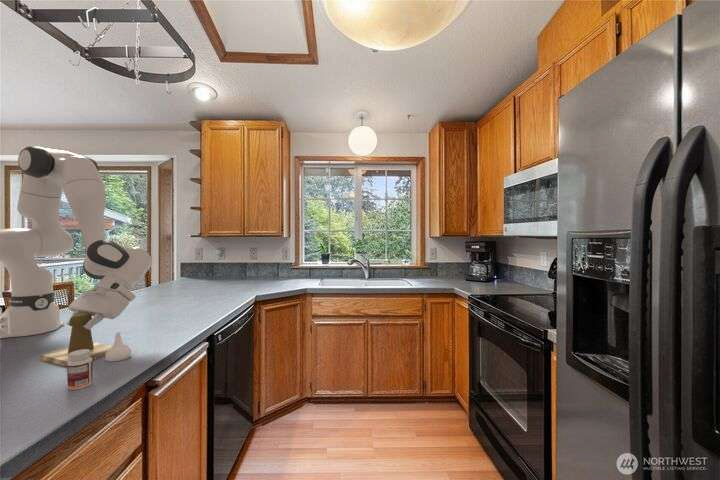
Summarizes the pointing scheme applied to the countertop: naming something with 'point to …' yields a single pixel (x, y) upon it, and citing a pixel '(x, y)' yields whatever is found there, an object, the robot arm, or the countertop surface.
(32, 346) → the countertop surface
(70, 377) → the pill bottle
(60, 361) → the birch board
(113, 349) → the garlic bulb
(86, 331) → the cork
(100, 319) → the robot arm
